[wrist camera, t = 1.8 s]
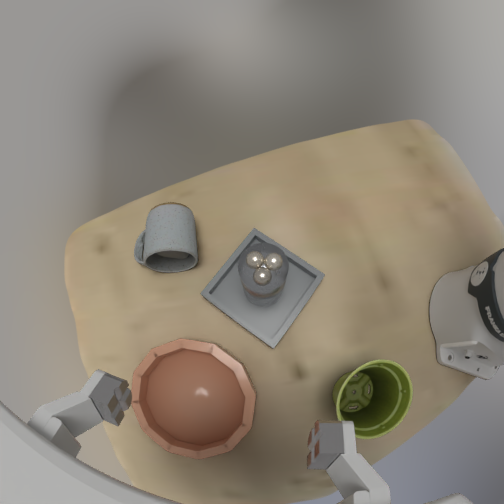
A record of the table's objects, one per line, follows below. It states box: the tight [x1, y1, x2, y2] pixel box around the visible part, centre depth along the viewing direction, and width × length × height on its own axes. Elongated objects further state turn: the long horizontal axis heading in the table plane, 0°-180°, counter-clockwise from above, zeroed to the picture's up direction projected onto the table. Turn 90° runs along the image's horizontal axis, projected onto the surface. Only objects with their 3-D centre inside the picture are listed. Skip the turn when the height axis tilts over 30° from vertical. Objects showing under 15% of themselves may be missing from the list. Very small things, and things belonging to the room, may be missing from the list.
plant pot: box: [332, 359, 413, 439], centre depth 28 cm, size 9×9×9 cm
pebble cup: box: [238, 243, 289, 307], centre depth 33 cm, size 5×5×10 cm
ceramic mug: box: [134, 202, 198, 273], centre depth 37 cm, size 11×8×8 cm
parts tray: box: [201, 228, 325, 348], centre depth 37 cm, size 12×12×2 cm
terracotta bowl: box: [131, 338, 256, 459], centre depth 31 cm, size 16×16×4 cm
